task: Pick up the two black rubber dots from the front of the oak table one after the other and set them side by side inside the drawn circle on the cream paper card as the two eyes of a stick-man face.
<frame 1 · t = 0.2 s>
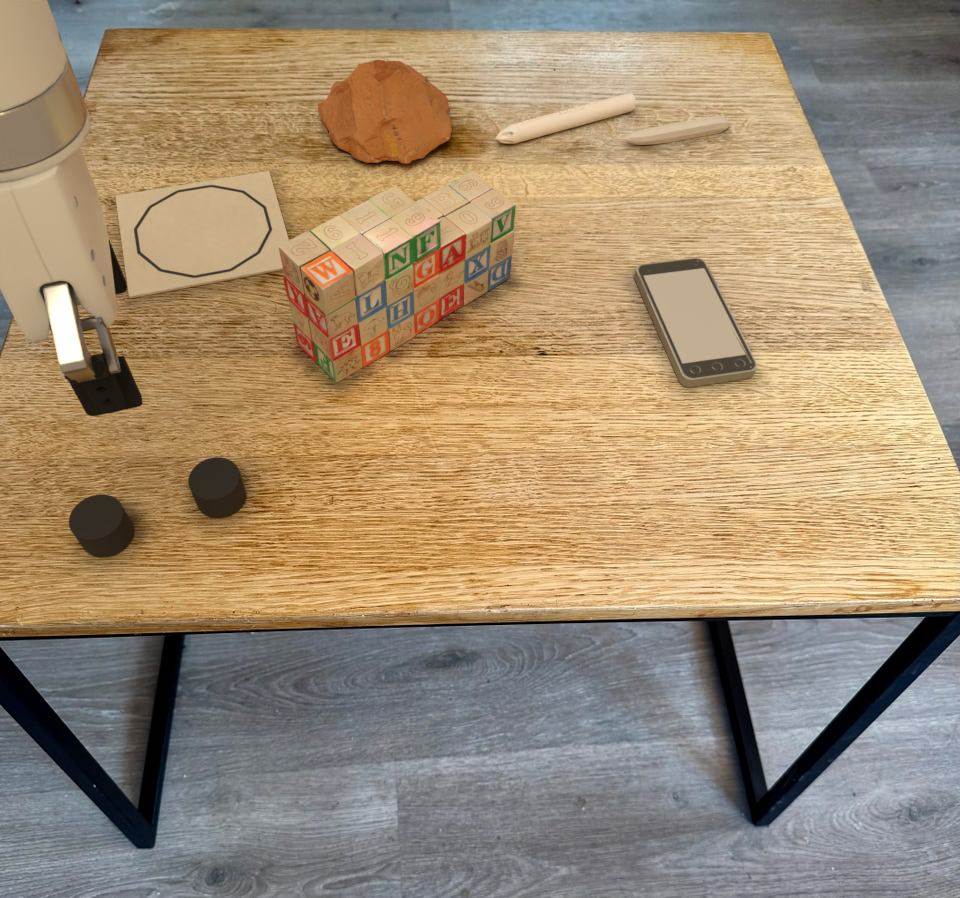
hand: (109, 347, 55), 20 cm above the table, tool pointing down, fingers open, 9 cm apart
smartphone: (691, 324, 85), on the table
face card: (204, 231, 89), on the table
left eye dot: (108, 535, 69), on the table
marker: (563, 129, 102), on the table
stack of blocks: (407, 312, 84), on the table
stone: (385, 129, 100), on the table
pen: (675, 139, 102), on the table
right eye dot: (221, 497, 72), on the table
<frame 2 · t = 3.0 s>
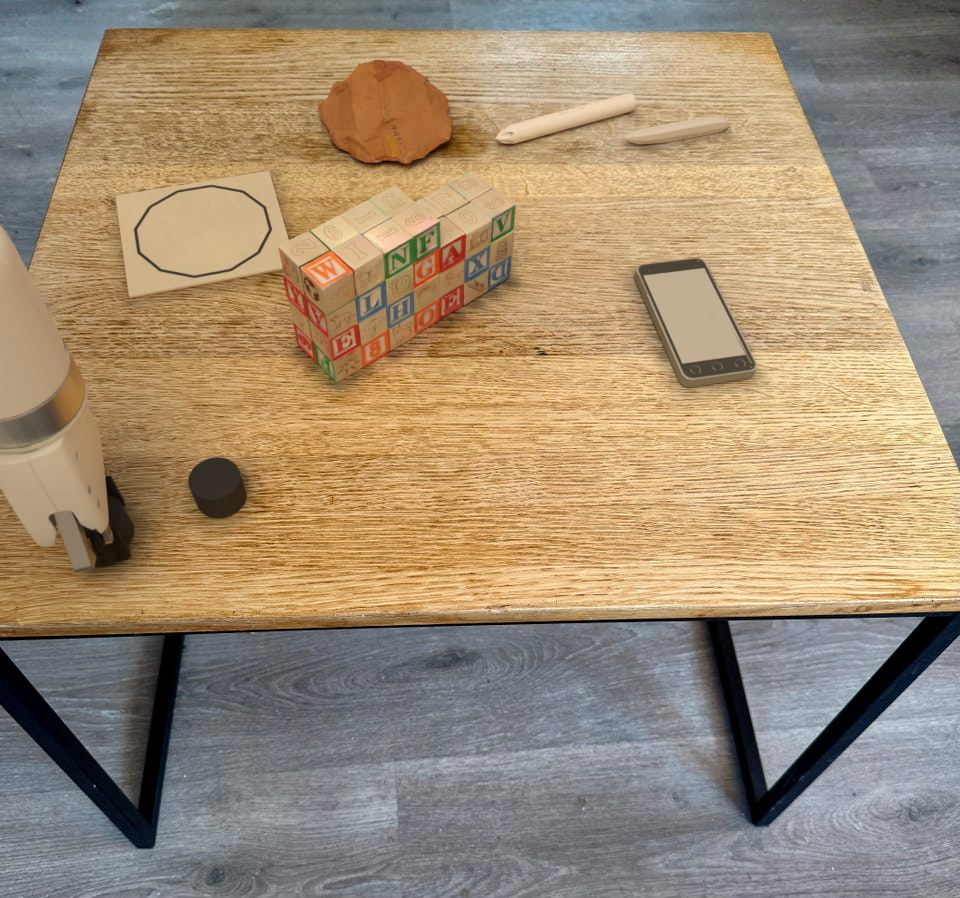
hand: (106, 533, 69), 0 cm above the table, tool pointing down, fingers closed on left eye dot, 4 cm apart
left eye dot: (108, 535, 69), on the table, touching gripper
everything else where it was.
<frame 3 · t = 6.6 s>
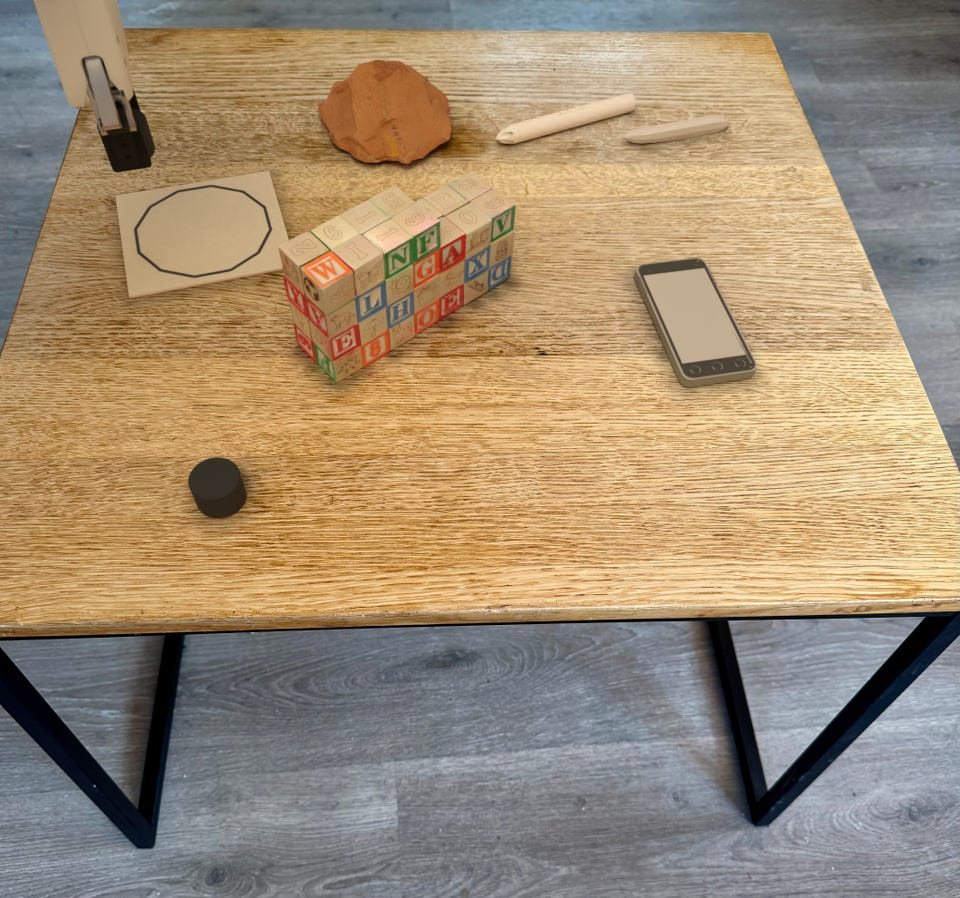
hand: (129, 148, 75), 13 cm above the table, tool pointing down, fingers closed on left eye dot, 4 cm apart
left eye dot: (131, 151, 75), point 13 cm above the table, touching gripper
everything else where it was.
when the fingers open (1 cm above the table, at t = 10.1 s): left eye dot stays where it is, resting on face card.
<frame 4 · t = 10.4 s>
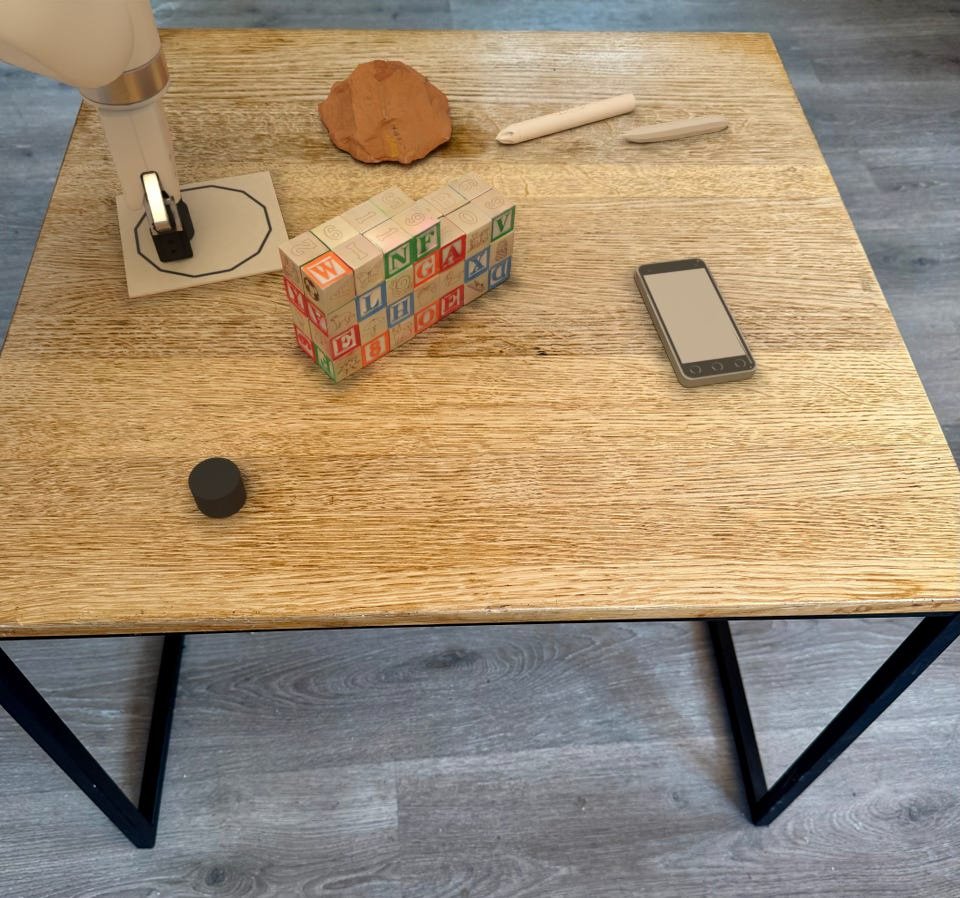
hand: (172, 231, 88), 1 cm above the table, tool pointing down, fingers open, 6 cm apart
left eye dot: (174, 234, 88), resting on face card
everything else where it was.
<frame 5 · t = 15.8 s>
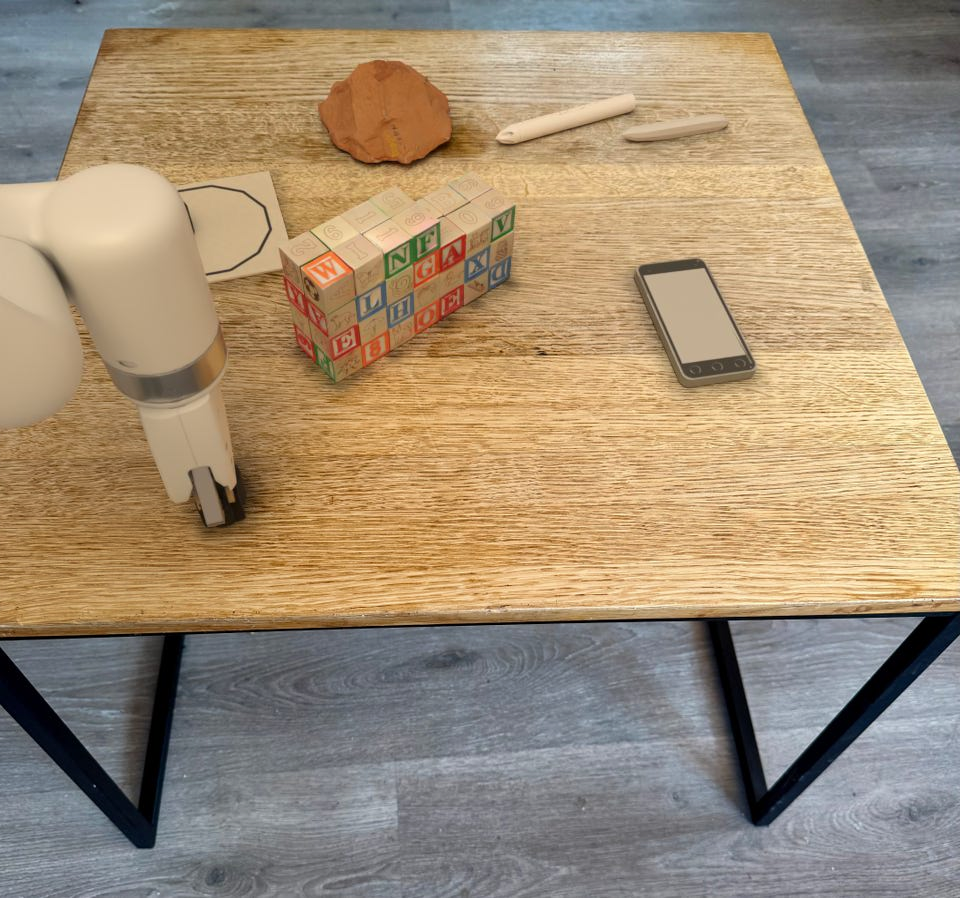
hand: (220, 495, 71), 0 cm above the table, tool pointing down, fingers closed on right eye dot, 4 cm apart
right eye dot: (221, 497, 72), on the table, touching gripper
everything else where it was.
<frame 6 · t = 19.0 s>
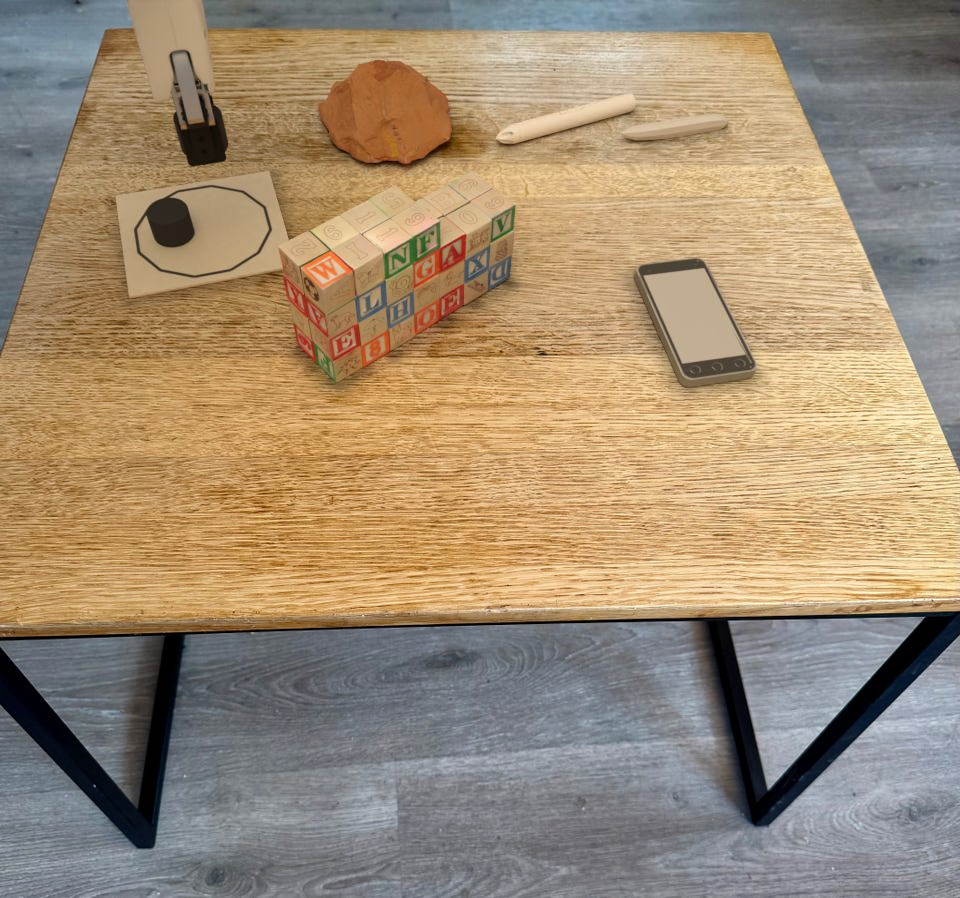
hand: (203, 143, 76), 14 cm above the table, tool pointing down, fingers closed on right eye dot, 4 cm apart
right eye dot: (205, 146, 76), point 13 cm above the table, touching gripper
everything else where it was.
when the fingers open (1 cm above the table, at t = 22.7 s): right eye dot stays where it is, resting on face card.
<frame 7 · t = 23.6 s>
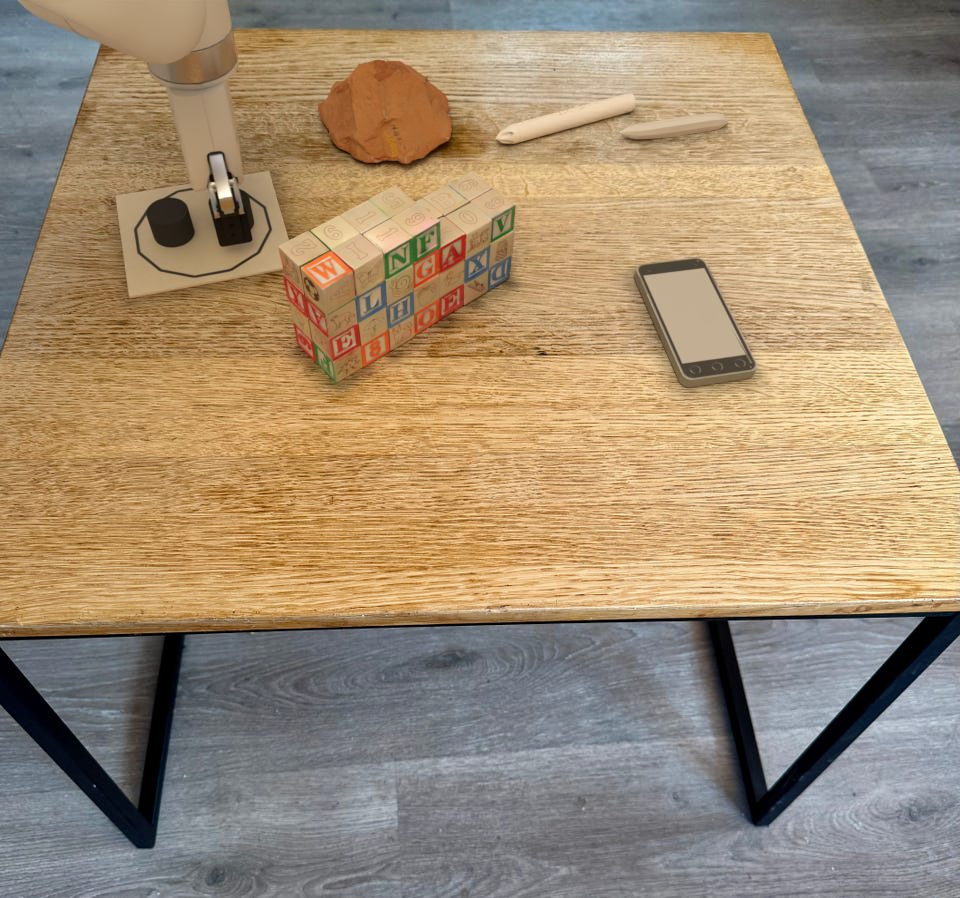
hand: (228, 210, 88), 2 cm above the table, tool pointing down, fingers open, 9 cm apart
right eye dot: (234, 223, 89), resting on face card
everything else where it was.
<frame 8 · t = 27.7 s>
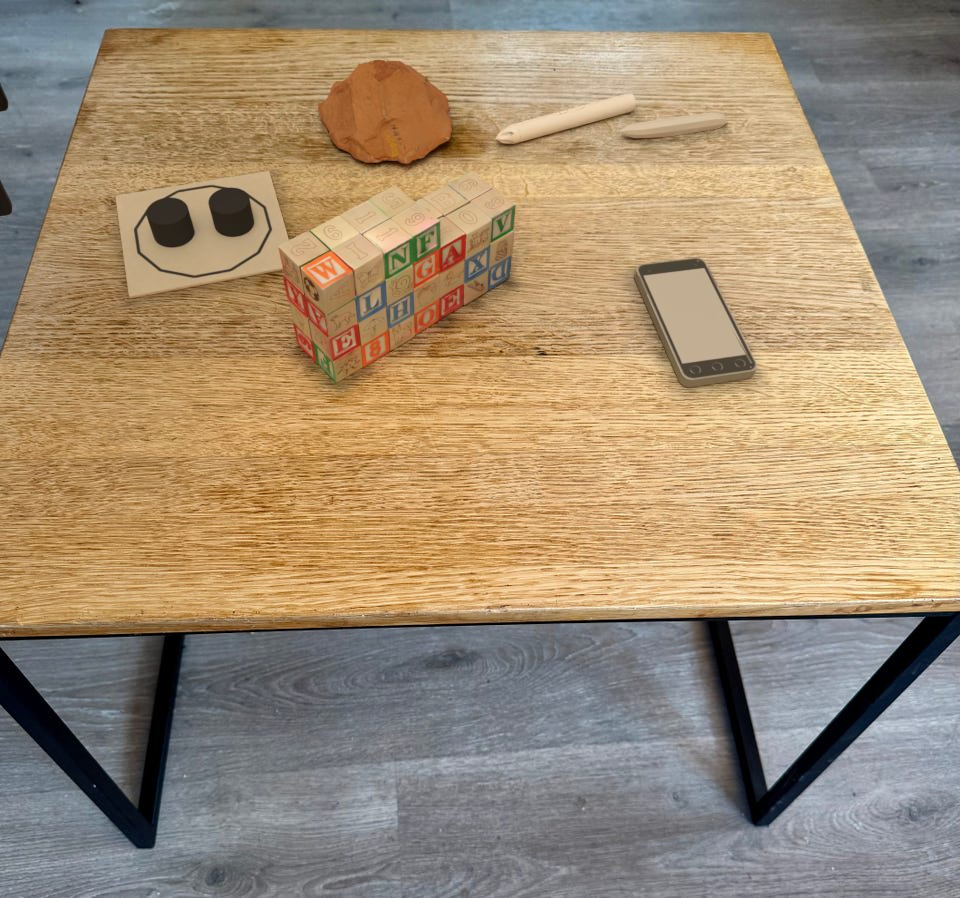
at the end: left eye dot 0.1 cm from the target spot on the face card, point 0.3 cm above the face card's base; right eye dot 0.1 cm from the target spot on the face card, point 0.3 cm above the face card's base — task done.
